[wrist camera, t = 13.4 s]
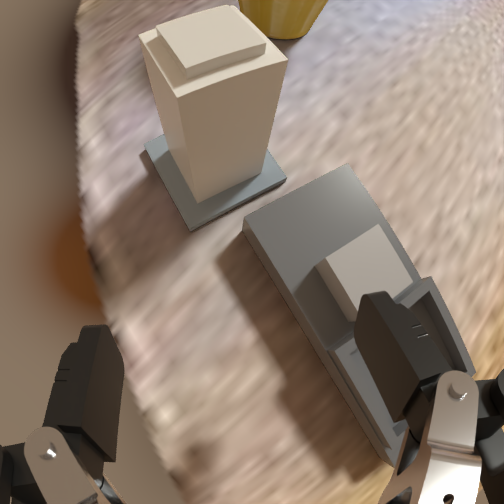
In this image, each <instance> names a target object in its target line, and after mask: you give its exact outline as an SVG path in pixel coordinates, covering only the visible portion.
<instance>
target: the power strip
mask: <svg viewBox="0 0 504 504" xmlns="http://www.w3.org/2000/svg"><path fill="white" fill-rule="evenodd" d="M242 231H243V233H244V234H245V236H246V238H247V239H248V241H249V243H250V244H251V246H252V248H253V249H254V251H255V253H256V254H257V256H258V257H259V259H260V261H261V262H262V264H263V266H264V267H265V269H266V271H267V272H268V274H269V276H270V277H271V279H272V280H273V282H274V284H275V285H276V287H277V289H278V290H279V292H280V294H281V295H282V297H283V299H284V300H285V302H286V303H287V305H288V307H289V308H290V310H291V312H292V313H293V315H294V317H295V318H296V320H297V322H298V323H299V325H300V327H301V328H302V330H303V331H304V333H305V335H306V336H307V338H308V340H309V341H310V343H311V345H312V346H313V348H314V350H315V351H316V353H317V355H318V356H319V358H320V359H321V361H322V363H323V364H324V366H325V368H326V369H327V371H328V373H329V374H330V376H331V378H332V379H333V381H334V383H335V384H336V386H337V388H338V389H339V391H340V393H341V394H342V396H343V397H344V399H345V401H346V402H347V404H348V406H349V407H350V409H351V411H352V412H353V414H354V416H355V417H356V419H357V421H358V422H359V424H360V426H361V427H362V429H363V431H364V432H365V434H366V436H367V437H368V439H369V441H370V442H371V444H372V446H373V447H374V449H375V451H376V452H377V454H378V455H379V457H380V458H381V459H383V460H384V461H385V462H387V463H388V464H389V465H391V466H392V467H393V468H395V465H396V462H397V459H398V455H399V452H400V449H401V445H402V442H403V438H404V435H405V431H406V428H407V426H408V424H407V421H406V419H404V420H402V421H399V422H396V423H393V421H392V418H391V416H390V414H389V412H388V410H387V408H386V405H385V403H384V401H383V399H382V397H381V395H380V393H379V391H378V389H377V386H376V384H375V382H374V380H373V378H372V376H371V374H370V372H369V370H368V368H367V366H366V364H365V362H364V360H363V358H362V356H361V354H360V352H359V350H358V348H357V345H356V343H355V339H354V326H355V322H356V317H357V313H358V309H359V304H360V300H361V297H362V295H363V294H368V293H373V292H379V291H386V292H388V294H389V295H390V296H391V298H392V299H393V301H394V302H395V303H396V304H399V303H401V304H402V305H404V306H405V307H406V308H408V309H409V310H411V311H412V312H413V313H414V314H415V316H416V317H417V319H418V320H419V321H420V323H421V326H423V327H424V329H425V330H426V331H427V335H429V336H430V337H431V339H432V340H433V342H434V343H435V345H436V346H437V347H438V349H439V350H440V352H441V353H442V355H443V356H444V358H445V359H446V361H447V363H448V364H449V366H450V367H451V368H452V370H453V371H461V372H464V373H466V374H468V375H469V376H470V377H472V376H473V375H474V374H475V373H476V371H475V368H474V366H473V363H472V361H471V358H470V356H469V354H468V351H467V349H466V347H465V344H464V342H463V340H462V338H461V336H460V333H459V331H458V329H457V327H456V325H455V323H454V321H453V318H452V316H451V314H450V312H449V310H448V308H447V306H446V304H445V302H444V300H443V298H442V296H441V294H440V292H439V290H438V289H437V287H436V285H435V283H434V281H433V279H432V277H431V276H430V277H426V278H423V279H421V277H420V276H419V274H418V272H417V270H416V269H415V267H414V265H413V263H412V262H411V260H410V258H409V256H408V255H407V253H406V251H405V250H404V248H403V246H402V244H401V243H400V241H399V240H398V238H397V236H396V235H395V233H394V231H393V230H392V228H391V227H390V225H389V223H388V222H387V220H386V219H385V217H384V216H383V214H382V212H381V211H380V209H379V208H378V206H377V205H376V203H375V202H374V200H373V199H372V197H371V196H370V194H369V193H368V191H367V190H366V188H365V187H364V185H363V184H362V183H361V181H360V180H359V178H358V177H357V175H356V174H355V173H354V171H353V170H352V168H351V167H350V166H349V164H348V163H347V164H345V165H343V166H341V167H339V168H337V169H335V170H333V171H331V172H329V173H327V174H325V175H323V176H321V177H319V178H317V179H315V180H313V181H311V182H309V183H307V184H306V185H304V186H302V187H300V188H298V189H296V190H294V191H292V192H290V193H288V194H286V195H284V196H283V197H281V198H279V199H277V200H275V201H273V202H271V203H269V204H267V205H266V206H264V207H262V208H260V209H258V210H256V211H254V212H252V213H251V214H249V215H247V216H245V217H244V221H243V227H242Z"/></svg>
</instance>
